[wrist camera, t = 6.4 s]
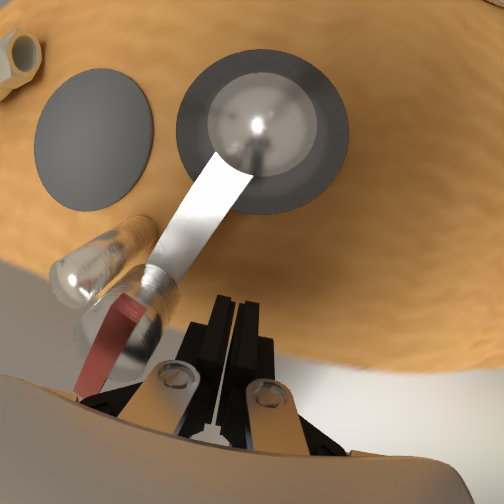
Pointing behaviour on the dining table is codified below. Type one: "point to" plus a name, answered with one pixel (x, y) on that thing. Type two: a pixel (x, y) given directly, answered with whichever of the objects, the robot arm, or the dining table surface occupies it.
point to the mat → (93, 139)
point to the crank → (195, 223)
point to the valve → (18, 60)
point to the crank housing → (197, 157)
